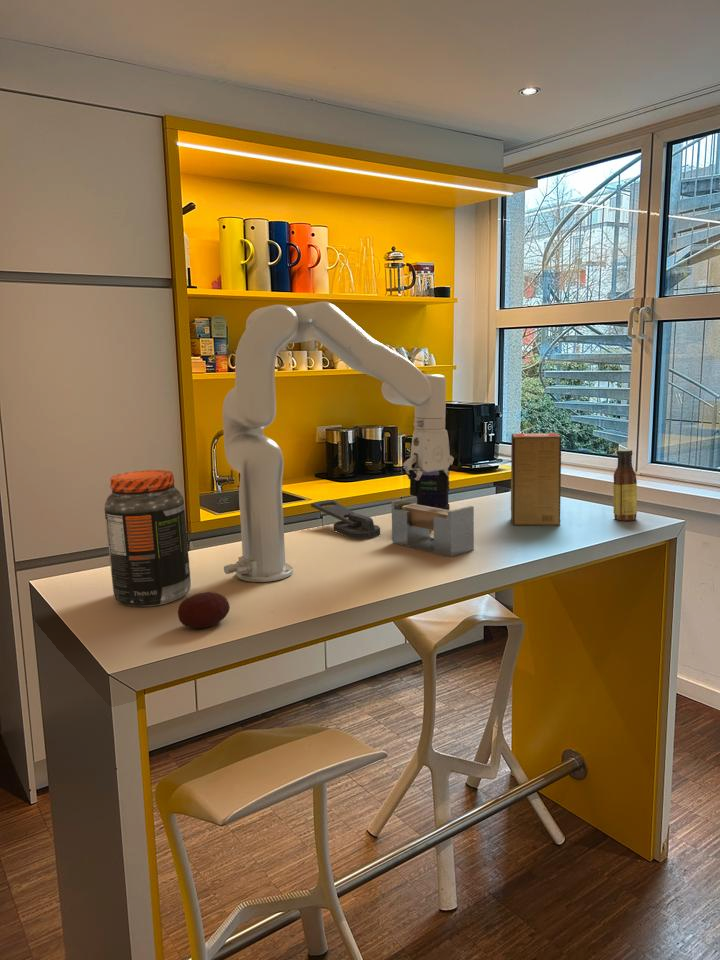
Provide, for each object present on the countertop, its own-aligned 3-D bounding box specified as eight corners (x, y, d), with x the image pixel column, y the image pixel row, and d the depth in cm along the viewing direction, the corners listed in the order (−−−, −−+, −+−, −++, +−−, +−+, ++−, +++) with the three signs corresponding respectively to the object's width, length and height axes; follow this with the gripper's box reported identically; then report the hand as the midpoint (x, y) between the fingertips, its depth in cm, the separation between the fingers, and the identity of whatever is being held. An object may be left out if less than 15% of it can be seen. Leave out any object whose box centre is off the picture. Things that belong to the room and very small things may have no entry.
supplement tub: (172, 579, 165) (163, 465, 161) (204, 596, 153) (195, 473, 148) (101, 595, 155) (90, 474, 151) (130, 615, 143) (118, 484, 139)
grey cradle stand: (451, 557, 176) (450, 512, 175) (392, 542, 191) (391, 501, 189) (473, 549, 182) (473, 506, 180) (414, 536, 197) (414, 496, 195)
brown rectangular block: (449, 534, 178) (449, 515, 177) (402, 524, 190) (401, 506, 189) (462, 530, 181) (461, 511, 180) (414, 520, 193) (414, 503, 192)
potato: (171, 627, 136) (169, 595, 135) (220, 613, 143) (218, 583, 141) (189, 638, 131) (187, 604, 130) (239, 623, 137) (237, 591, 136)
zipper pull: (333, 498, 218) (384, 511, 198) (333, 520, 219) (385, 535, 199) (307, 502, 213) (357, 516, 193) (308, 525, 214) (358, 541, 194)
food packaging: (556, 518, 213) (558, 432, 209) (561, 525, 204) (562, 436, 200) (510, 518, 215) (510, 432, 211) (512, 525, 206) (512, 436, 201)
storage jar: (447, 518, 217) (446, 468, 214) (452, 526, 207) (452, 474, 204) (413, 520, 216) (412, 469, 214) (417, 527, 207) (416, 475, 204)
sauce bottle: (640, 518, 210) (642, 449, 206) (631, 522, 205) (633, 452, 202) (617, 515, 214) (619, 447, 211) (608, 519, 209) (610, 450, 206)
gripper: (416, 427, 173) (416, 499, 175) (464, 423, 184) (462, 491, 187) (394, 425, 178) (393, 495, 181) (441, 422, 190) (440, 487, 192)
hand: (428, 493), depth 184 cm, fingers open, 9 cm apart
